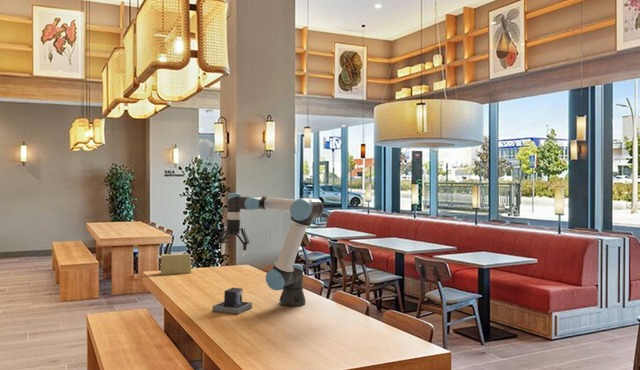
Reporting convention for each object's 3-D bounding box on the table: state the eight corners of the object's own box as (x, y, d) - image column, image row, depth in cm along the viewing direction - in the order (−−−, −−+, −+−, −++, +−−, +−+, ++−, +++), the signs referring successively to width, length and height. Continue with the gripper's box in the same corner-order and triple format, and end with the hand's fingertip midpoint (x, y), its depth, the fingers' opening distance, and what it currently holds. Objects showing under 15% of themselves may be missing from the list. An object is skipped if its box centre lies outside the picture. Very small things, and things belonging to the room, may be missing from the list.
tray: (251, 307, 288) (252, 302, 288) (237, 314, 274) (238, 308, 274) (227, 305, 294) (227, 299, 294) (212, 311, 279) (212, 305, 279)
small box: (234, 311, 278) (234, 291, 278) (223, 310, 280) (223, 290, 280) (242, 306, 288) (243, 288, 288) (232, 305, 290) (232, 287, 290)
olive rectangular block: (190, 272, 400) (190, 252, 400) (191, 274, 391) (191, 254, 391) (160, 273, 393) (160, 253, 393) (160, 275, 384) (161, 255, 384)
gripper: (255, 219, 305) (255, 255, 305) (218, 218, 313) (218, 253, 313) (249, 220, 297) (248, 257, 298) (211, 218, 306) (211, 254, 306)
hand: (233, 255), depth 305 cm, fingers open, 13 cm apart
